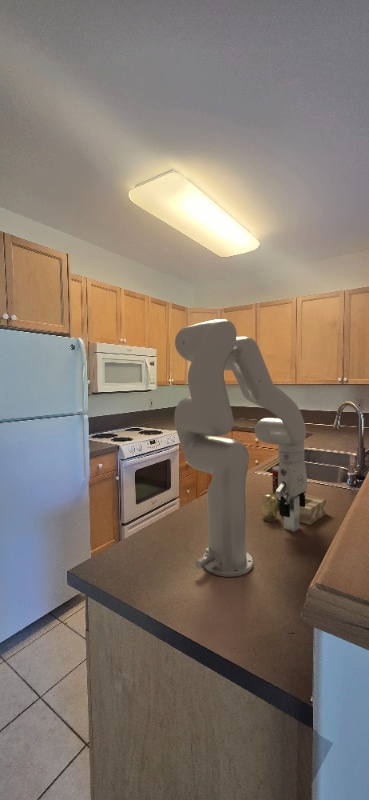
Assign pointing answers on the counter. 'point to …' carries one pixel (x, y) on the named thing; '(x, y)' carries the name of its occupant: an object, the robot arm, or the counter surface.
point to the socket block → (312, 509)
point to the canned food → (275, 478)
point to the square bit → (293, 515)
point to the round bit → (269, 506)
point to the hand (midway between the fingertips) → (292, 510)
